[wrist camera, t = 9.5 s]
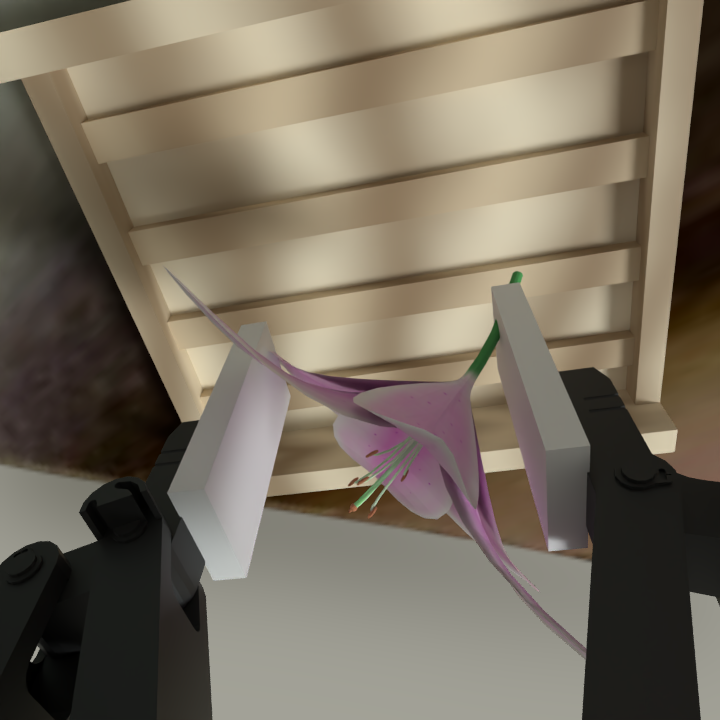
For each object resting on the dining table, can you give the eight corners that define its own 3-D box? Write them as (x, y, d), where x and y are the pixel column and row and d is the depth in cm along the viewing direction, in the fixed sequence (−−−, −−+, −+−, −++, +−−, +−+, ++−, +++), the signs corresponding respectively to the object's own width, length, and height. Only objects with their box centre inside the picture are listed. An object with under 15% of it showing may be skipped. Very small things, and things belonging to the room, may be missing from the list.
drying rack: (218, 446, 30) (196, 504, 27) (37, 31, 20) (-35, 41, 16) (639, 393, 27) (674, 451, 24) (682, -127, 17) (756, -155, 13)
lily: (225, 103, 15) (-33, 406, 10) (761, 62, 10) (755, 627, 5) (353, 372, 24) (249, 600, 19) (669, 422, 19) (635, 750, 14)
